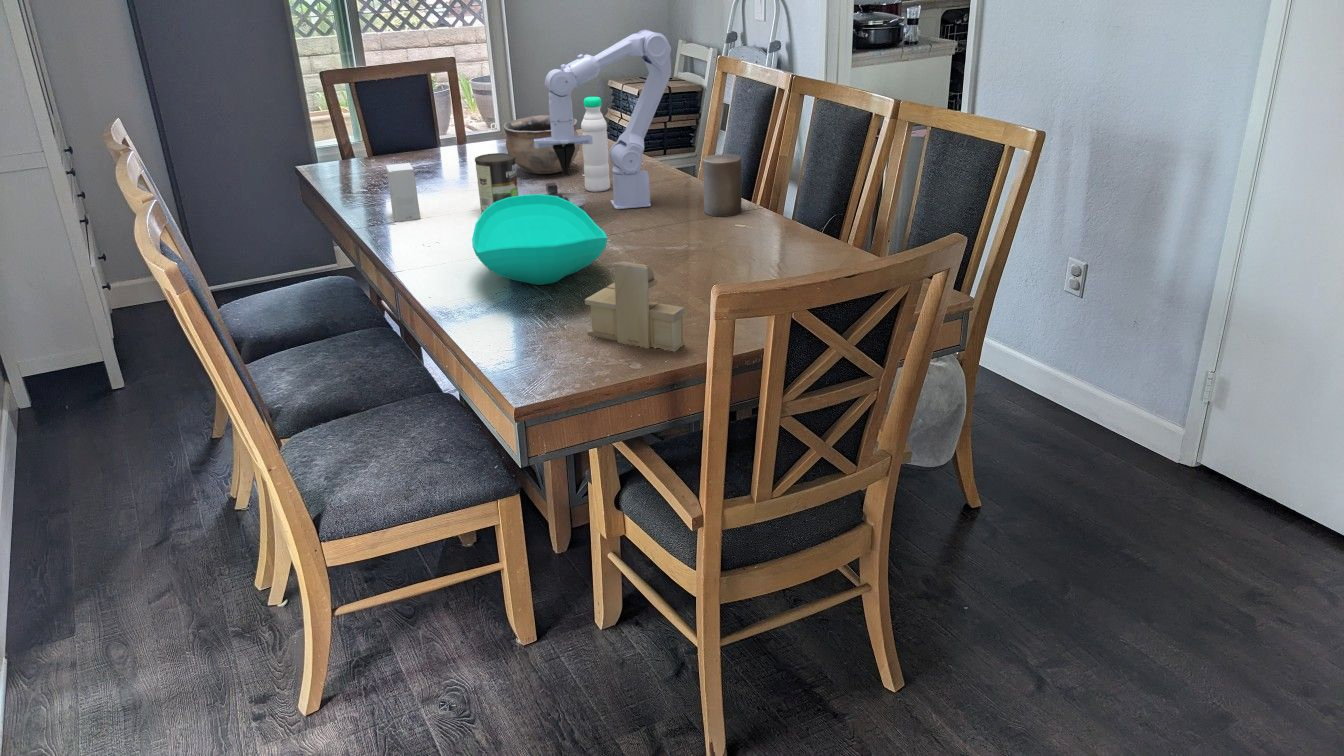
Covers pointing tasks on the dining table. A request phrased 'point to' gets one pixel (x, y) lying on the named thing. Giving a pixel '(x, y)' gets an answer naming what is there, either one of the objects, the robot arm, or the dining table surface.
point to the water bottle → (595, 147)
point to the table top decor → (536, 238)
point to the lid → (565, 195)
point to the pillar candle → (722, 185)
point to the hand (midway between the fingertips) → (565, 174)
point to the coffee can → (496, 178)
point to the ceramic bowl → (523, 144)
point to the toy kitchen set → (635, 311)
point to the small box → (403, 192)
